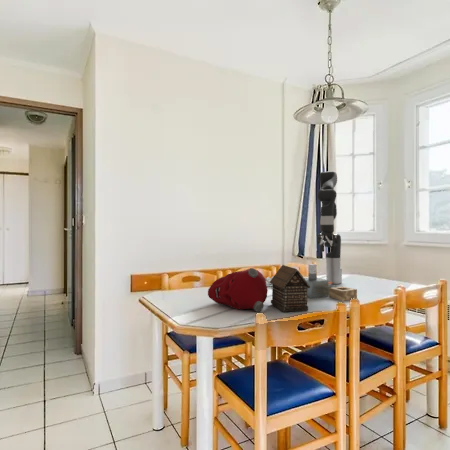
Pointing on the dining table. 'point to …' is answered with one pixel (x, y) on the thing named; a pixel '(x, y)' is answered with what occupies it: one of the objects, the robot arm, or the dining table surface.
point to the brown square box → (343, 293)
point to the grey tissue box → (318, 288)
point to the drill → (312, 271)
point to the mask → (240, 290)
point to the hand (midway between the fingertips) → (327, 252)
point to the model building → (289, 290)
